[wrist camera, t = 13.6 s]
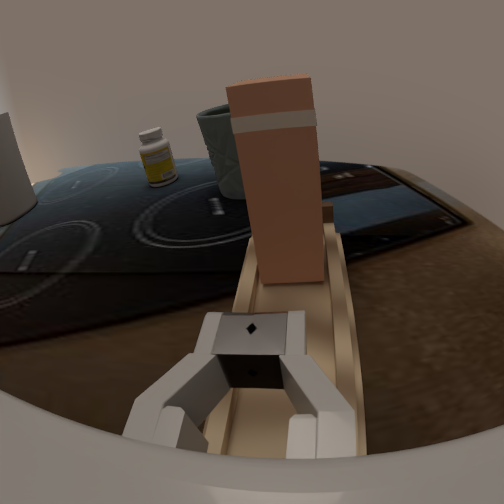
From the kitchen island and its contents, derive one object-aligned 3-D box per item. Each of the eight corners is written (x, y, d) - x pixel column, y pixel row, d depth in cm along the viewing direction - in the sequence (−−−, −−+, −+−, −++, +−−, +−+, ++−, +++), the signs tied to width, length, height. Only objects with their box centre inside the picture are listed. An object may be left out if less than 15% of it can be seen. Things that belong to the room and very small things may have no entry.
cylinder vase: (44, 196, 67) (16, 109, 53) (27, 216, 56) (-8, 117, 42) (11, 211, 65) (-18, 129, 51) (-8, 232, 55) (-43, 140, 41)
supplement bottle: (155, 178, 56) (142, 130, 50) (181, 173, 55) (169, 123, 50) (145, 190, 51) (129, 137, 46) (173, 185, 51) (159, 130, 45)
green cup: (297, 181, 44) (288, 99, 37) (245, 209, 39) (227, 114, 32) (250, 170, 50) (238, 100, 44) (200, 193, 45) (182, 116, 39)
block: (324, 281, 24) (311, 77, 15) (260, 284, 25) (224, 87, 16) (320, 239, 29) (307, 73, 20) (267, 241, 30) (241, 80, 21)
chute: (365, 500, 11) (379, 489, 9) (192, 493, 13) (167, 478, 11) (338, 232, 31) (338, 201, 29) (252, 237, 33) (246, 207, 31)
